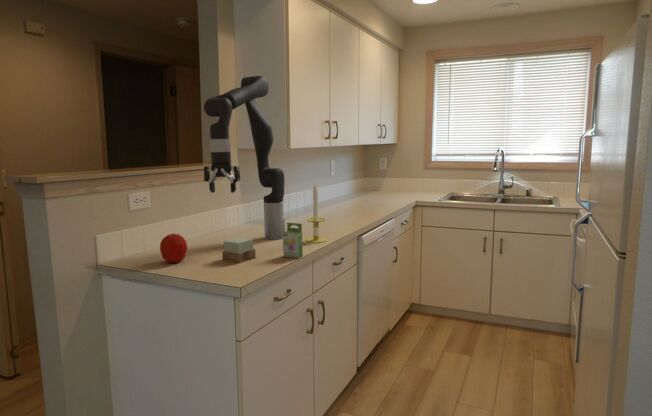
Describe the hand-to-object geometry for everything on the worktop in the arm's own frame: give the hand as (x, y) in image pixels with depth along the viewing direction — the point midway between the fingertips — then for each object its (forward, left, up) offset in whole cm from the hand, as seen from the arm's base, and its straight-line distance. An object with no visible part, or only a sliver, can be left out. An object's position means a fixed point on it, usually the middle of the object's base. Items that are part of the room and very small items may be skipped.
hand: (222, 192), depth 181 cm
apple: (+15, -13, -27) cm, 33 cm away
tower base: (-1, +6, -27) cm, 27 cm away
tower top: (-1, +6, -23) cm, 24 cm away
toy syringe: (-44, +13, -27) cm, 53 cm away
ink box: (-15, +22, -27) cm, 38 cm away
